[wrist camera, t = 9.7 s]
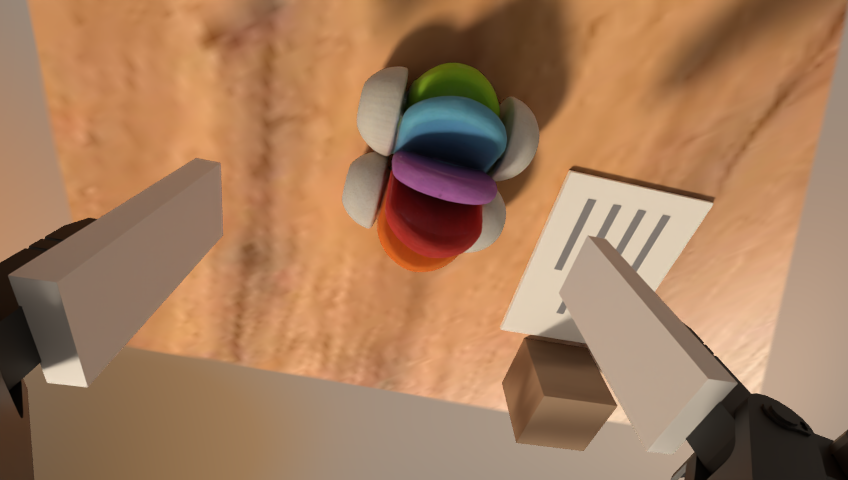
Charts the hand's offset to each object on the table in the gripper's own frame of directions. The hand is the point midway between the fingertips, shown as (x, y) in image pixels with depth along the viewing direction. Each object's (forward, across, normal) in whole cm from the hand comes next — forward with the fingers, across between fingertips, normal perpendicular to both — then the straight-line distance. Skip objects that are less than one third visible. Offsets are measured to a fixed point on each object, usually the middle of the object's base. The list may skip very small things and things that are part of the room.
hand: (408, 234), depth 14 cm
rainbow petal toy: (+8, +1, +1) cm, 9 cm away
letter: (+8, +13, -4) cm, 16 cm away
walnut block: (+8, +13, -14) cm, 21 cm away
